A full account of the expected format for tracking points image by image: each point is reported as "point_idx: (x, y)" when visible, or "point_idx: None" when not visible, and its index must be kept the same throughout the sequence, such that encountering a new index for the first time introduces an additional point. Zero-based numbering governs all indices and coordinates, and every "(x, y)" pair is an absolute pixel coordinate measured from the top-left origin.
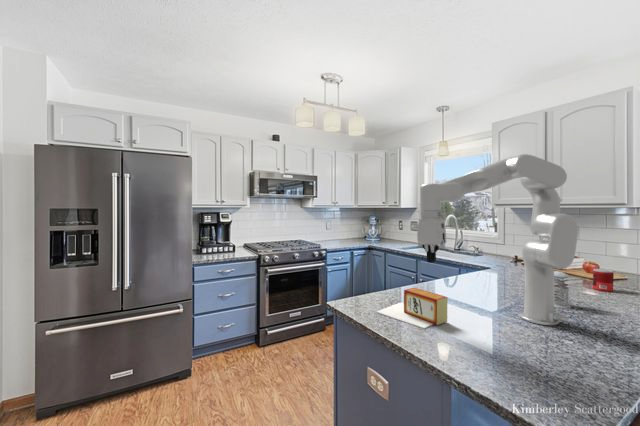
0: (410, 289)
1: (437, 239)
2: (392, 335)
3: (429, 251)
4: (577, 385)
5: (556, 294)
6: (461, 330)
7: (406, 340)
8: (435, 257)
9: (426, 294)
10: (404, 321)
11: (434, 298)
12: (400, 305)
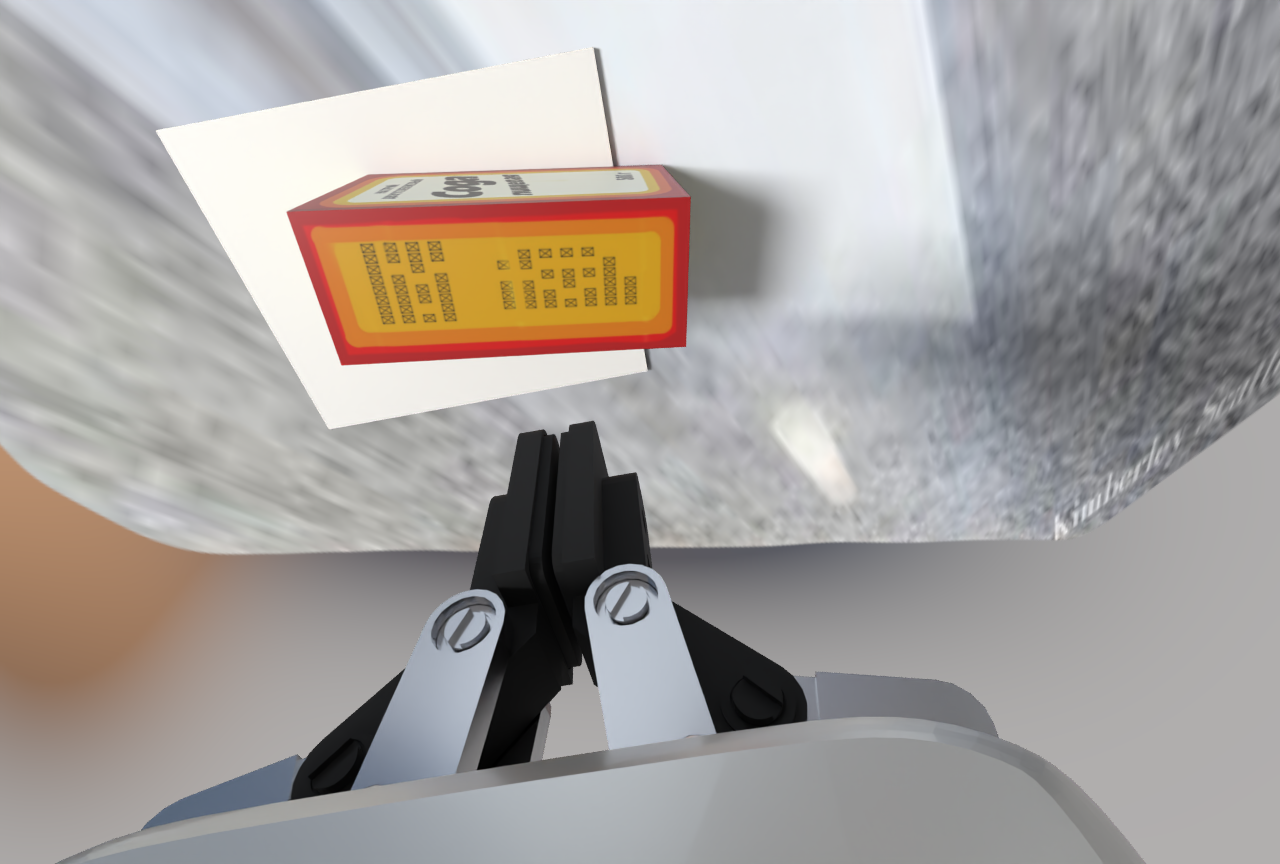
0: (341, 302)
1: None
2: None
3: (559, 672)
4: (1256, 282)
5: None
6: (781, 200)
7: (679, 506)
8: (641, 511)
9: (536, 298)
10: (526, 391)
11: (649, 331)
12: (244, 199)
